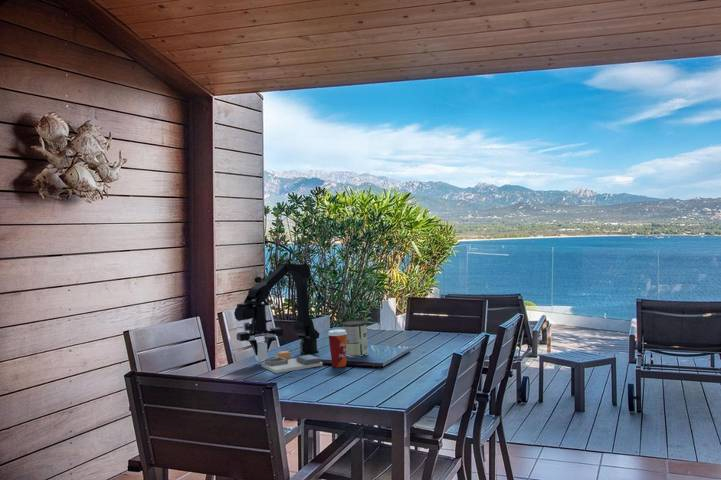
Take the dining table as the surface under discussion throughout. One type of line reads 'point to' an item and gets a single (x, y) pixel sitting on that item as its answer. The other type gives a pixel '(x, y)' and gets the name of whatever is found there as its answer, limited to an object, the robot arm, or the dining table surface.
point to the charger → (261, 351)
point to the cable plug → (283, 355)
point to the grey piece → (308, 359)
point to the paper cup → (338, 347)
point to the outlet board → (286, 365)
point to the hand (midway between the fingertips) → (261, 354)
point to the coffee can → (356, 337)
